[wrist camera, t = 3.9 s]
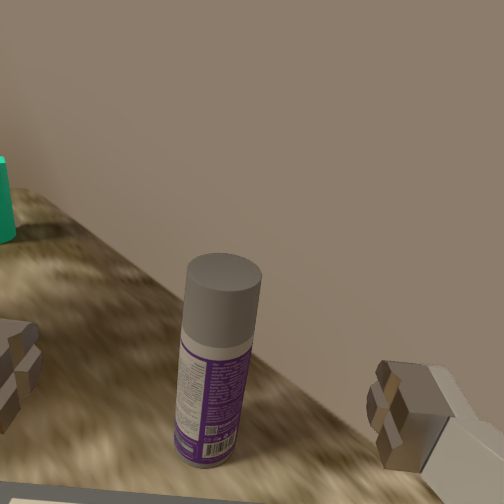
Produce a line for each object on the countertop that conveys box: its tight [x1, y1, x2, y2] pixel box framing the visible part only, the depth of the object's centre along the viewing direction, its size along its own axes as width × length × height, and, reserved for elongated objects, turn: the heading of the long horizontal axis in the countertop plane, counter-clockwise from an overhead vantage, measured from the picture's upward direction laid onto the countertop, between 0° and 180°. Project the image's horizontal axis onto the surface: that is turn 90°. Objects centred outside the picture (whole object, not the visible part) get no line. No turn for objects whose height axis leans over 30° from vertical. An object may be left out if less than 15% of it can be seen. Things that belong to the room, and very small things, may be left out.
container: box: [174, 253, 262, 468], centre depth 27 cm, size 5×5×15 cm
